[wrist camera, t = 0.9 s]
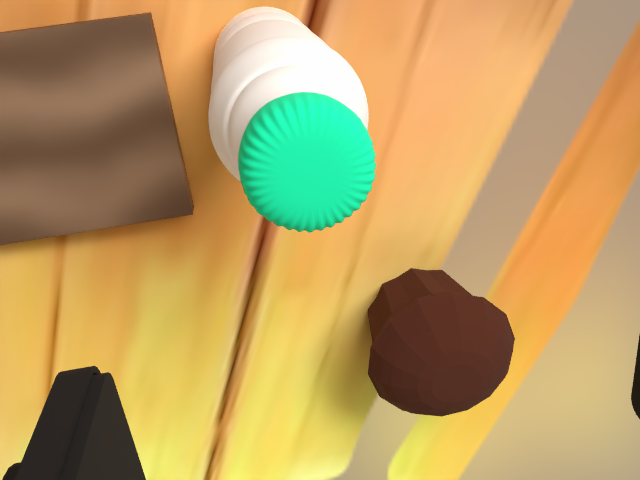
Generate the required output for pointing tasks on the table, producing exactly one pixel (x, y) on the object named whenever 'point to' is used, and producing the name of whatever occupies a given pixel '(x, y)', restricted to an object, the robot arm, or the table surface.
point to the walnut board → (86, 130)
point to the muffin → (436, 344)
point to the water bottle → (290, 121)
